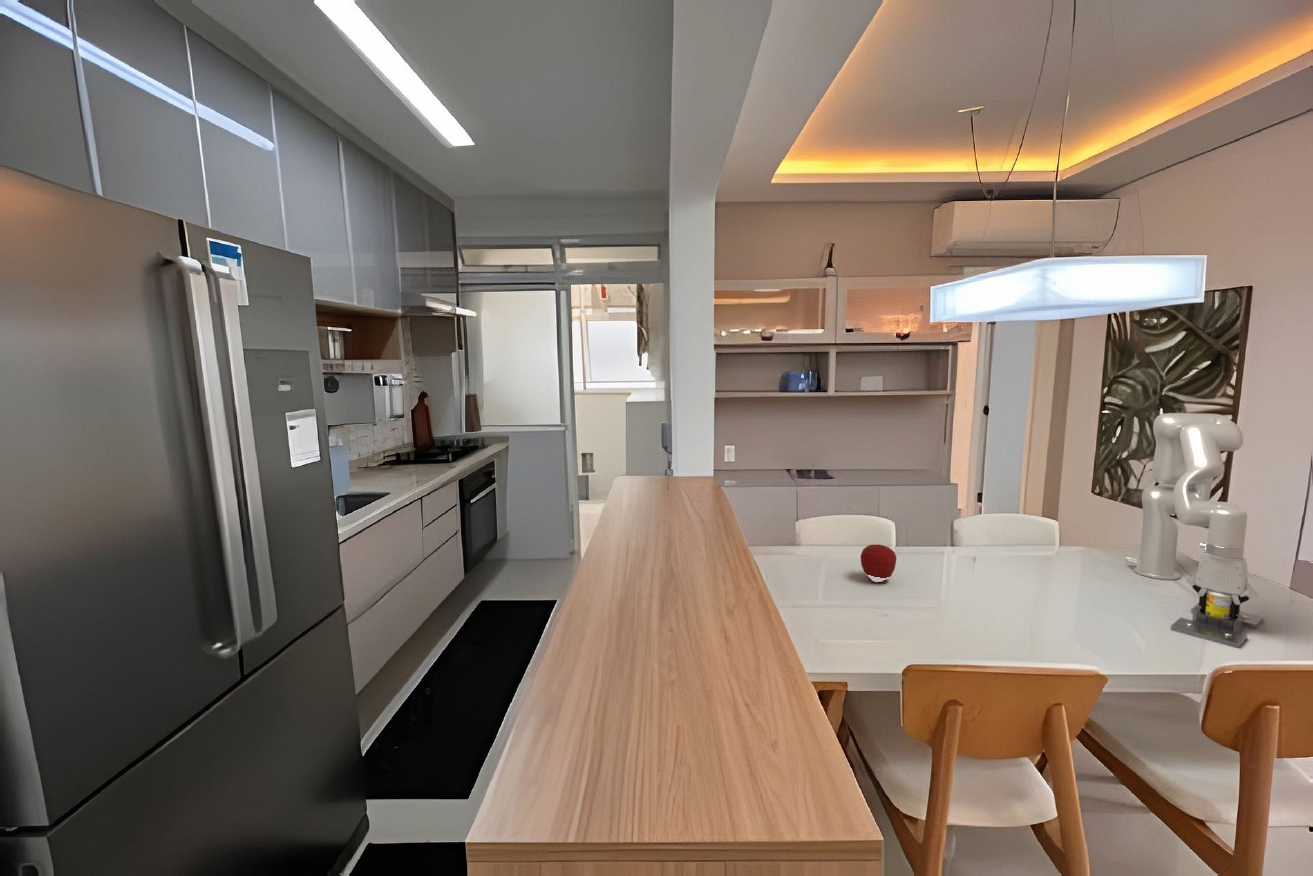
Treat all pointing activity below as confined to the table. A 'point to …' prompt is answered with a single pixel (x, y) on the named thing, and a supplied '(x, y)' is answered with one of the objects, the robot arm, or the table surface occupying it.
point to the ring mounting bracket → (1217, 626)
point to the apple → (878, 561)
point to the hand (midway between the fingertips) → (1218, 612)
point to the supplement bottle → (1218, 604)
